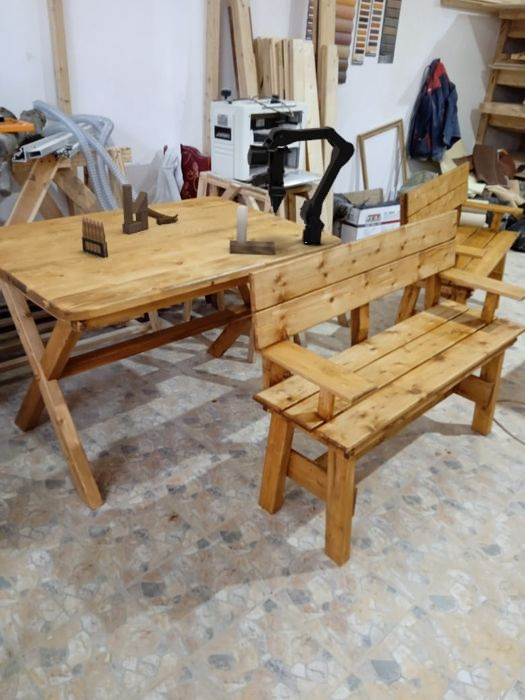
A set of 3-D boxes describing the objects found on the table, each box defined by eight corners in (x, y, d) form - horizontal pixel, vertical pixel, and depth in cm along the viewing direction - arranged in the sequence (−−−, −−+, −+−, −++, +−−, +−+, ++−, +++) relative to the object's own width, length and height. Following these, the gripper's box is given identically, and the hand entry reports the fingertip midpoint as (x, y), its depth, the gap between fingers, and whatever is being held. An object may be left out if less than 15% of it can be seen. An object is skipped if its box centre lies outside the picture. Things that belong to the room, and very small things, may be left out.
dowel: (244, 241, 203) (245, 205, 197) (247, 244, 200) (249, 208, 194) (234, 241, 202) (236, 205, 196) (238, 244, 199) (239, 208, 193)
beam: (273, 249, 206) (273, 241, 205) (274, 254, 201) (275, 246, 200) (229, 248, 205) (229, 240, 204) (229, 253, 200) (230, 245, 198)
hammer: (122, 209, 245) (159, 226, 226) (122, 202, 244) (159, 218, 225) (145, 206, 253) (183, 222, 233) (145, 199, 251) (183, 215, 232)
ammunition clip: (82, 251, 193) (79, 216, 187) (86, 250, 194) (83, 215, 189) (104, 258, 188) (101, 222, 182) (108, 256, 189) (105, 221, 184)
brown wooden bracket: (148, 229, 221) (147, 182, 212) (129, 234, 213) (126, 186, 204) (142, 227, 223) (139, 180, 214) (122, 232, 214) (119, 184, 206)
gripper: (252, 160, 207) (250, 202, 214) (255, 169, 190) (253, 215, 198) (282, 161, 208) (279, 203, 215) (288, 171, 191) (284, 216, 199)
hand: (273, 209), depth 207 cm, fingers open, 9 cm apart
